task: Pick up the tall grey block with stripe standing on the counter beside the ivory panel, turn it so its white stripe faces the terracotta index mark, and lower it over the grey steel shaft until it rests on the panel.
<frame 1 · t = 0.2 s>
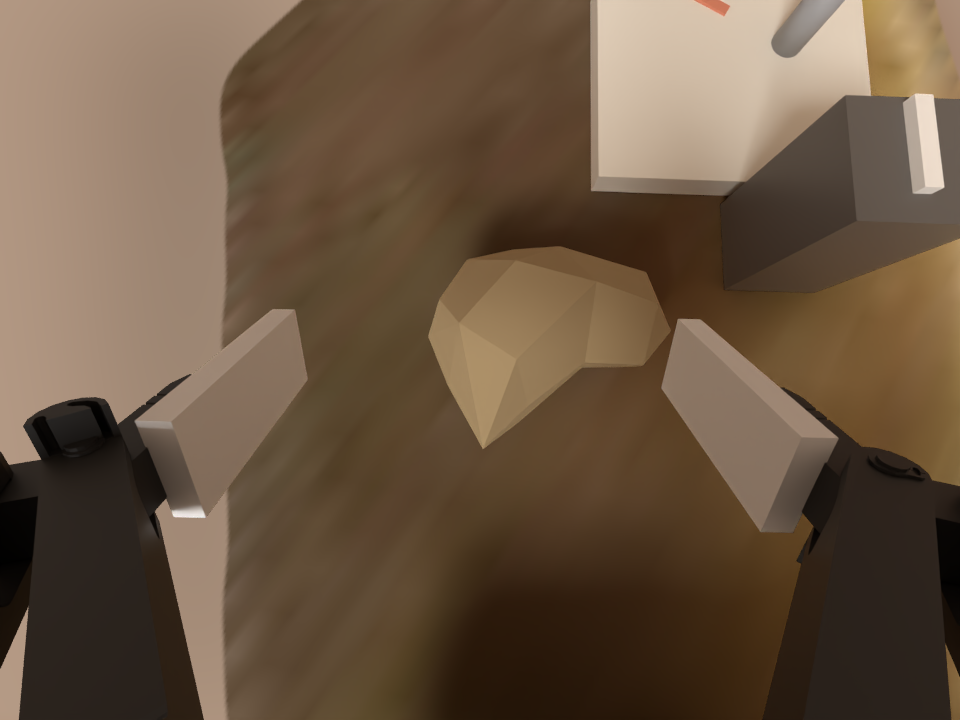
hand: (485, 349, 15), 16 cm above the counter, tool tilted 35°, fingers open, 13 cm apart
low-poly potato: (535, 347, 31), on the counter
grey block with stripe: (766, 248, 33), on the counter
panel: (719, 98, 34), on the counter
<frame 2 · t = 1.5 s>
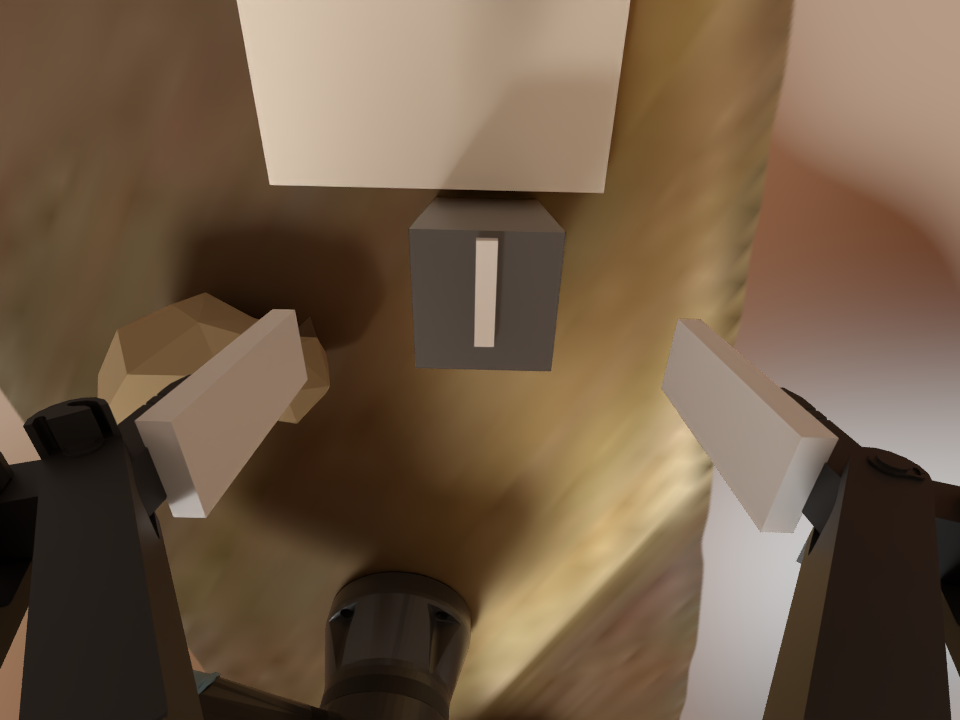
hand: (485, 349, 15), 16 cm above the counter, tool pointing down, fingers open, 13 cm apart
low-poly potato: (260, 348, 34), on the counter
grey block with stripe: (485, 249, 30), on the counter
panel: (437, 32, 25), on the counter
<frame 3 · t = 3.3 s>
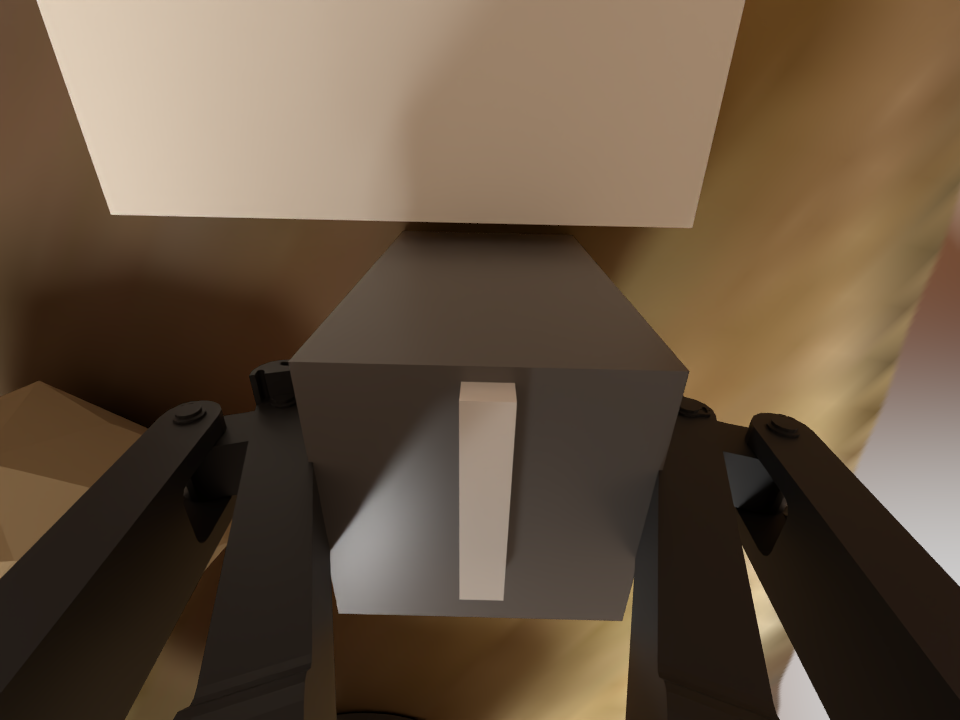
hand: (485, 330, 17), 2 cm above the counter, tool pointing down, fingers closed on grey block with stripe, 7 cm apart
low-poly potato: (150, 448, 23), on the counter
grey block with stripe: (485, 312, 19), on the counter, touching gripper
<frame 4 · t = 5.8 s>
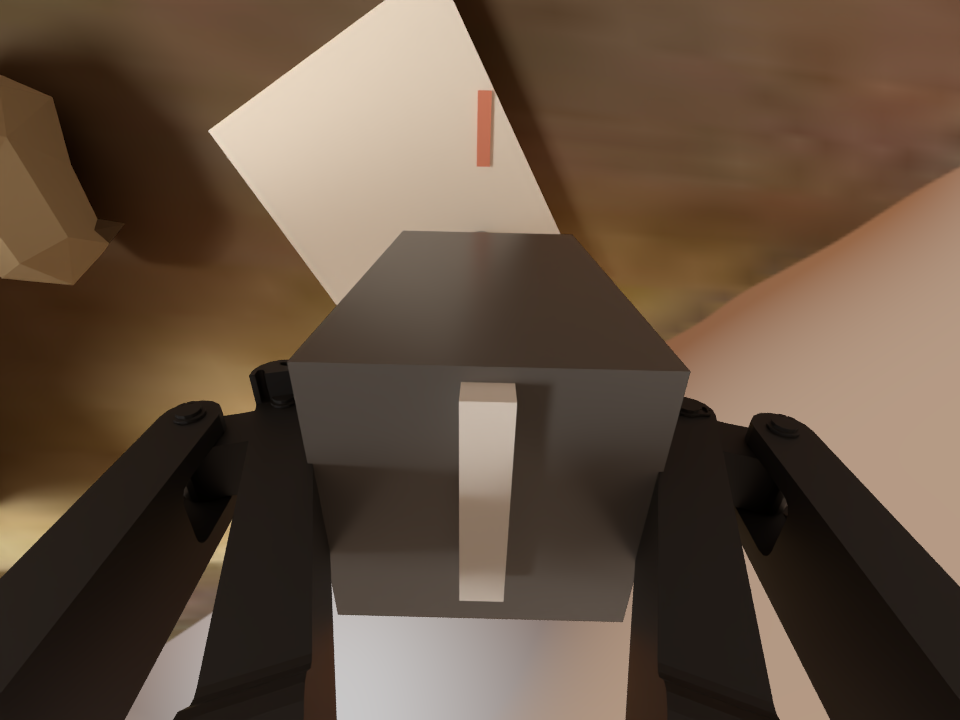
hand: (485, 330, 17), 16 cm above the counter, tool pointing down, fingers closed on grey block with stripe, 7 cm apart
low-poly potato: (51, 169, 29), on the counter
grey block with stripe: (485, 311, 19), point 14 cm above the counter, touching gripper
panel: (415, 211, 30), on the counter
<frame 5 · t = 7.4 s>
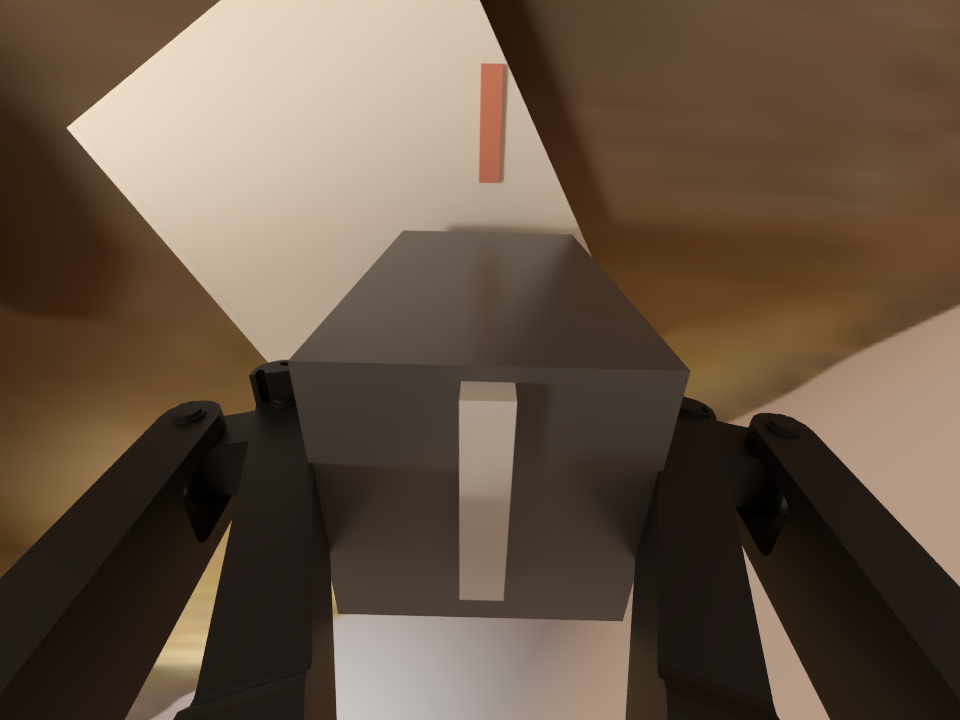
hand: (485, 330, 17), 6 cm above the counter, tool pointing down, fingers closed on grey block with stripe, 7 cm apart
grey block with stripe: (485, 311, 19), point 4 cm above the counter, touching gripper
panel: (390, 244, 21), on the counter
when the fingers open (5 cm above the counter, at t = 8.4 s): grey block with stripe drops 1 cm, resting on panel.
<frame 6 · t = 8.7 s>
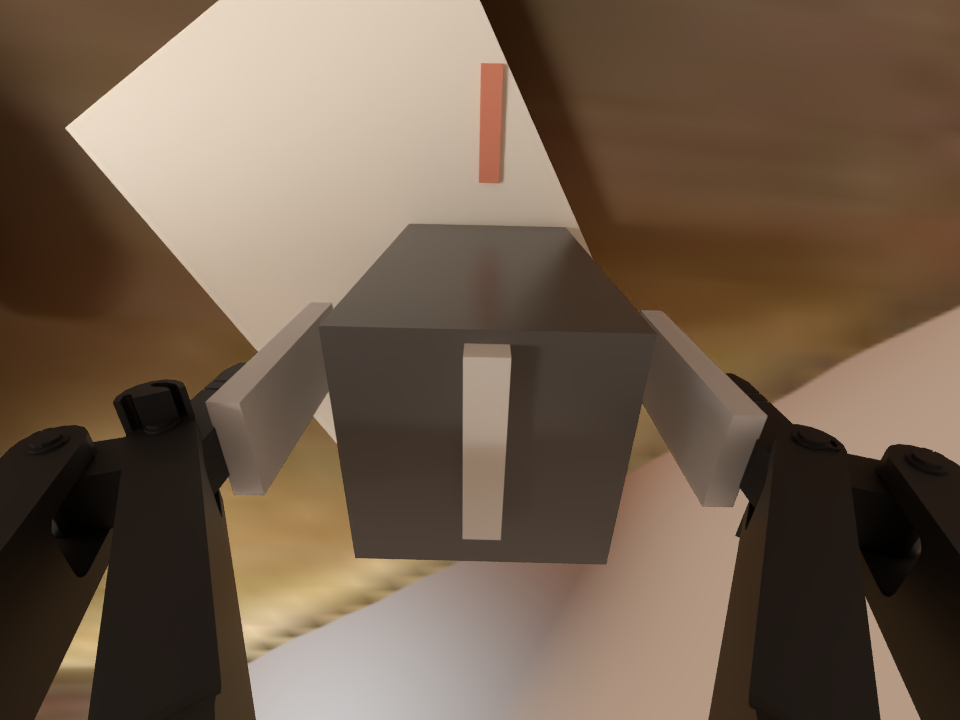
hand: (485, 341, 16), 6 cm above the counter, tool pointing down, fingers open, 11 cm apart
grey block with stripe: (485, 299, 20), point 2 cm above the counter, touching panel
panel: (390, 244, 21), on the counter
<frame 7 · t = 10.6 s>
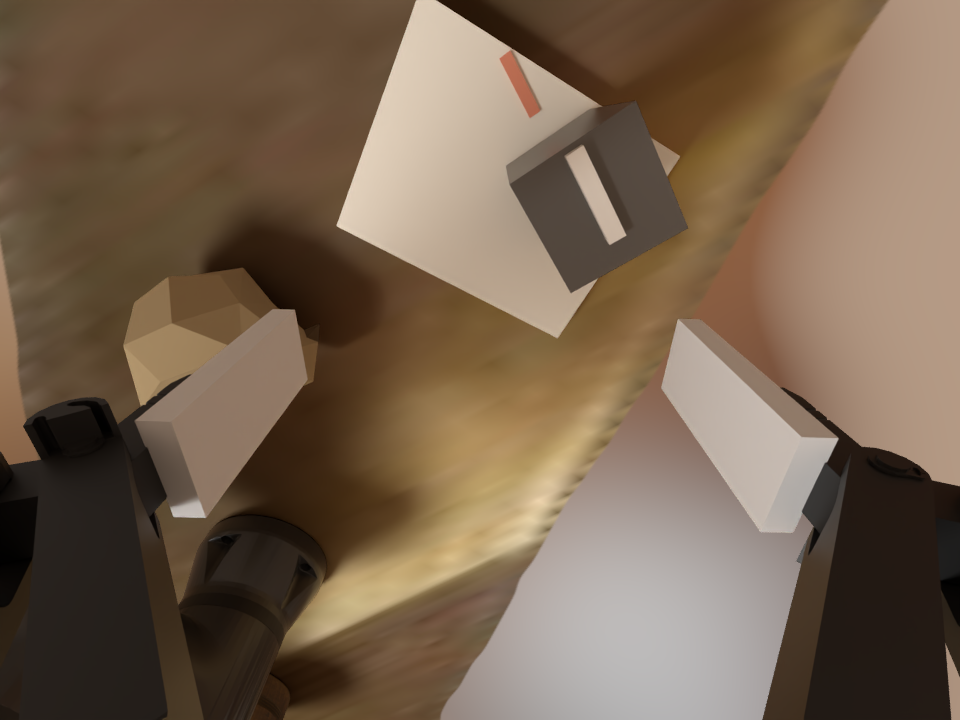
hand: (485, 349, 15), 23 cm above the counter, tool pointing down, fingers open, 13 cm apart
low-poly potato: (260, 318, 40), on the counter
grey block with stripe: (568, 181, 32), point 2 cm above the counter, touching panel
panel: (500, 189, 34), on the counter
wooden container: (245, 687, 72), on the counter
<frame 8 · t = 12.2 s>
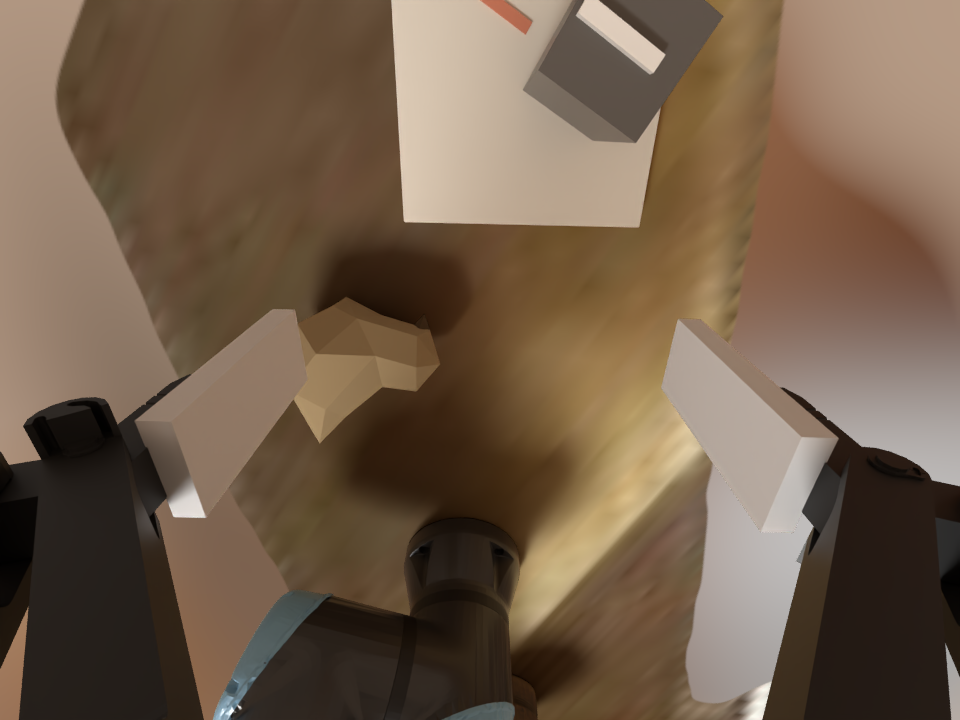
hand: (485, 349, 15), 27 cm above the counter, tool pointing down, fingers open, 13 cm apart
low-poly potato: (375, 338, 45), on the counter
grey block with stripe: (584, 72, 32), point 2 cm above the counter, touching panel
panel: (525, 118, 36), on the counter
wooden container: (491, 694, 75), on the counter
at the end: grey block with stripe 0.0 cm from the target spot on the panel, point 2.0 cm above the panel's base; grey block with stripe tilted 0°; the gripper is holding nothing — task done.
